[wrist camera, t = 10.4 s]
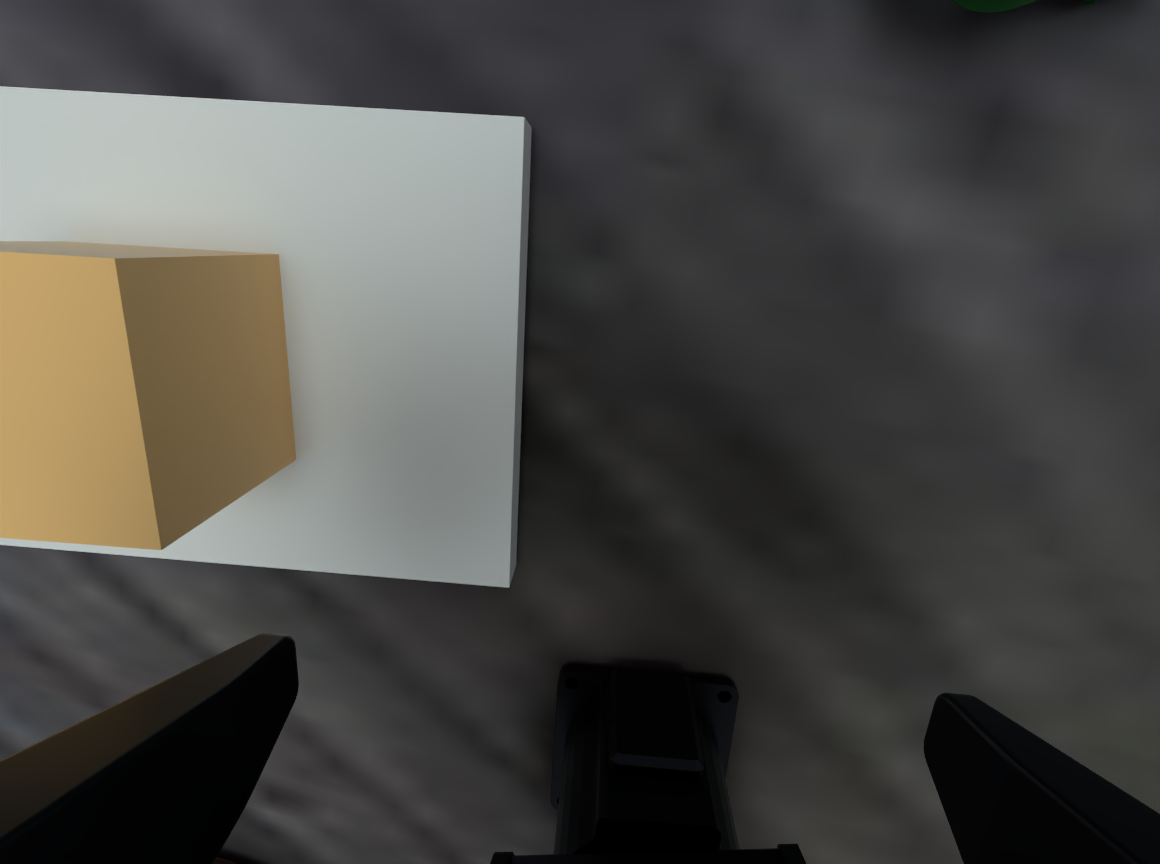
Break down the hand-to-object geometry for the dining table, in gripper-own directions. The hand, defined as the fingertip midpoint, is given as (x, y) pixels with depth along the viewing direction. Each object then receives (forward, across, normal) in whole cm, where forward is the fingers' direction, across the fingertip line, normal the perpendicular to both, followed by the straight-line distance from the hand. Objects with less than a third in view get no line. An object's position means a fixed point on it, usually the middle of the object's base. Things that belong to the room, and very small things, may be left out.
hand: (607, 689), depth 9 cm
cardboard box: (+10, +13, -2) cm, 17 cm away
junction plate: (+12, +13, -2) cm, 18 cm away
